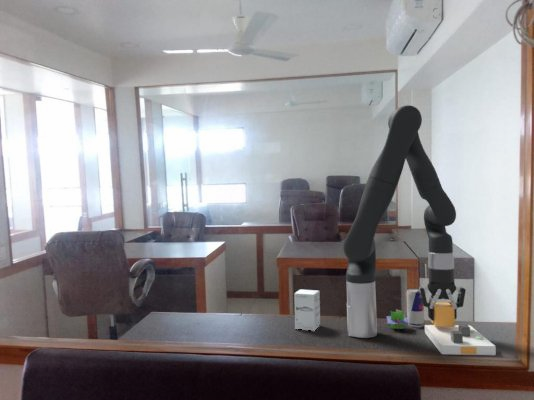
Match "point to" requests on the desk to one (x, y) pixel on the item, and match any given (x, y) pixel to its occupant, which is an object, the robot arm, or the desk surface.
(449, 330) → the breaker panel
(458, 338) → the block
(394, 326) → the geometric puzzle
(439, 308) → the orange cube
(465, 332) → the block
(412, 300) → the energy drink
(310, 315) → the supplement box
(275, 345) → the desk surface
